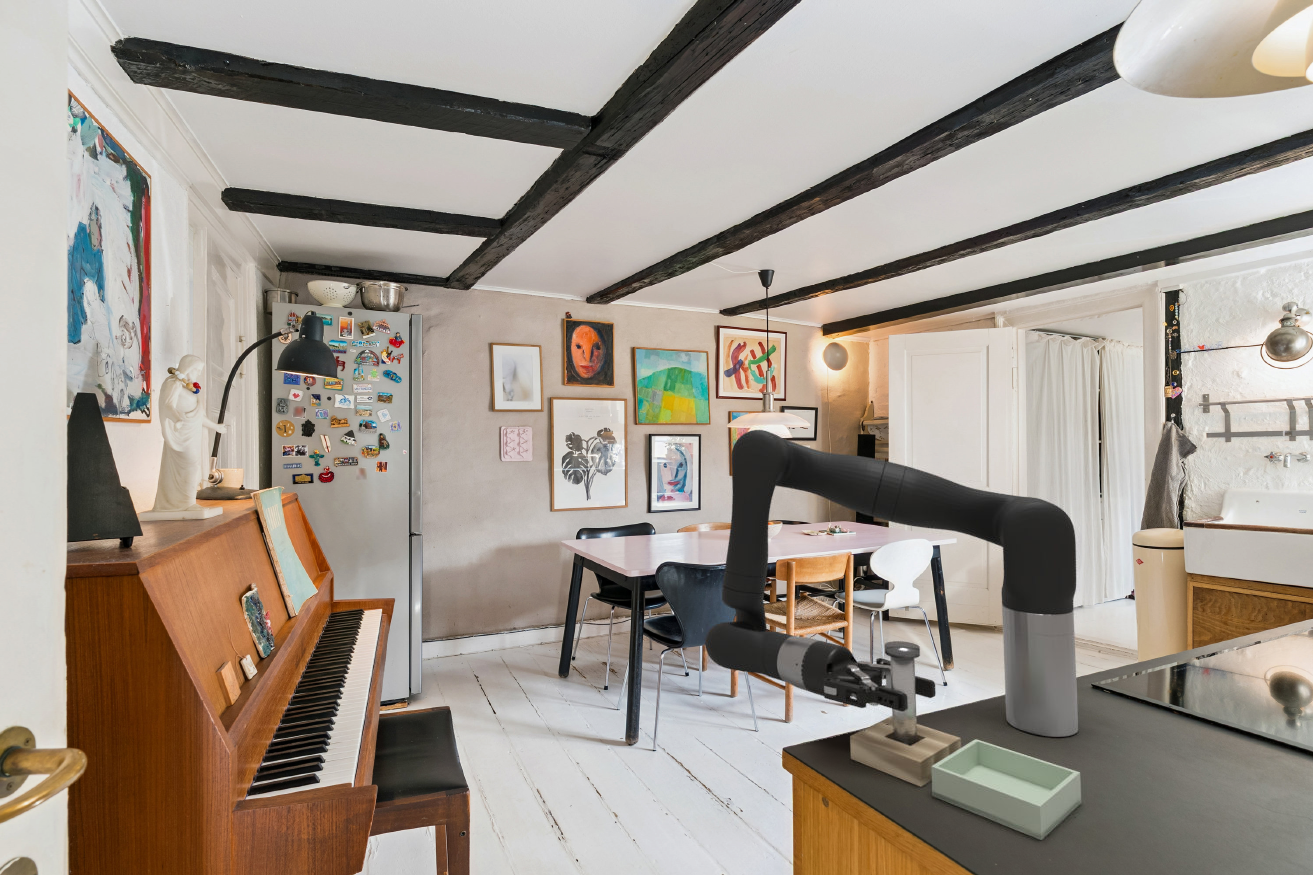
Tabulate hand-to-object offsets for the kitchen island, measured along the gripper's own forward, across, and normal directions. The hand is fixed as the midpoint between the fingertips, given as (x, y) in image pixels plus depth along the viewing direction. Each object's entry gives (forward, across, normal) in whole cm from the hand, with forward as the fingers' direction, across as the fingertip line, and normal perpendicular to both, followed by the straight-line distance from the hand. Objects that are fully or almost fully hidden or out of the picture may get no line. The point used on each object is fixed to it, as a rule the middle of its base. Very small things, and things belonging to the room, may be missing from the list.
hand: (920, 696), depth 87 cm
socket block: (-2, 0, +9) cm, 9 cm away
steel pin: (-2, 0, +9) cm, 9 cm away
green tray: (+11, 0, +9) cm, 14 cm away
